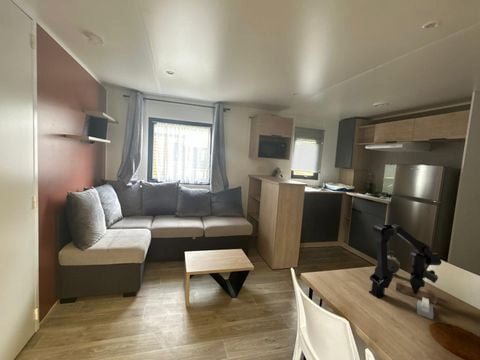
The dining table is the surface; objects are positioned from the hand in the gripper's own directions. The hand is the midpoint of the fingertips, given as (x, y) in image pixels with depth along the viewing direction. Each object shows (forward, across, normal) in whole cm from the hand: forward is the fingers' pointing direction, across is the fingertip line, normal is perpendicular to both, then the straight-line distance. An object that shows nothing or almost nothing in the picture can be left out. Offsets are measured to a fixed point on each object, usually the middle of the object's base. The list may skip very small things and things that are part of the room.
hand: (415, 290), depth 126 cm
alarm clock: (+3, +21, +14) cm, 26 cm away
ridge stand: (+3, -15, -4) cm, 16 cm away
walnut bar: (+3, 0, 0) cm, 3 cm away
